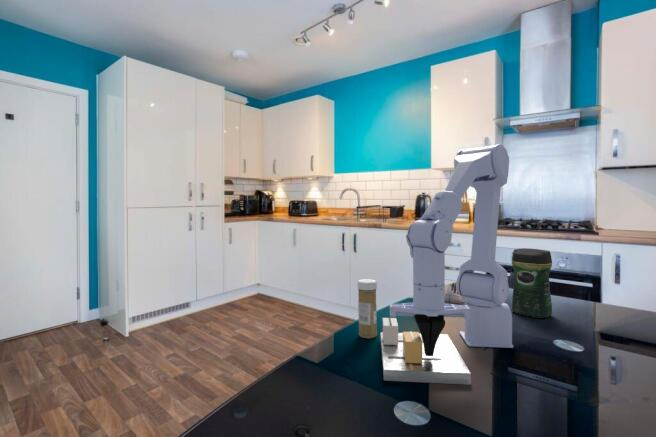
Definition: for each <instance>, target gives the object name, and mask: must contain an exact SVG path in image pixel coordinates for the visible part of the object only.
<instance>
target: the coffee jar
mask: <svg viewBox="0 0 656 437" xmlns="http://www.w3.org/2000/svg"><path fill="white" fill-rule="evenodd" d="M511 266H512V268H513V285H512V286H513V288H512V296H511V312H514V313H515V314H518V313H519V314H518V315H521V314H522V315H521V316H525V315H526V316H525V317H529V316H531V317H530V318H535V319H536V318H537V319H542V318H546V319H547V318H550V317H551V315H552V314H553V305H552V297H551V290H550V289H551V287H550V271H551V269H552V267H553V259H552V253H551V252H550V250H545V249H538V248H530V247H529V248H525V247H524V248H521V247H520V248H516V249H514V250H513V252H512V255H511Z"/></svg>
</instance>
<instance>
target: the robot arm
mask: <svg viewBox="0 0 656 437" xmlns="http://www.w3.org/2000/svg"><path fill="white" fill-rule="evenodd" d="M453 164H454V166H453V167H454V171H453V172H452V173H453V174H452V175H451V177H450V179H449V181H448V183H447V185H446V187H445V189H444V190H440V191H438V192H437V193H435V195H434V196H433V199H432V200H431V202H430V203H429V204H428V206H427V208H426V210H425V211H424V213H423V214H422V216H421V218H420V219H417V220H415V221H413V222H412V223H411V224H410V225H409V227H408V229H407V234H405V238H406V243H407V245H408V247H409V250H410V251H409V255H410V258H412V285H413V286H412V289H413V290H412V298H413V299H412V302H403V303H390V304H389V318H396V317H398V316H399V317H413V318H414V320H415V323H416V325H417V327H418V330H419V333H420V334H421V336H422V340H423V344H424V352H425V354H426V356H433V354H434V349H435V345H436V342H437V340H438V337H439V335H440V334H442V331H443V330H444V328H445V325H446V320H445V318H463V319H464V331H463V330H461V331H459V332H458V333H459V335H460V336H461V338H462V339H463V341H464V342H465V343H466V345H467V346H468V347H475V348H476V347H477V348H480V347H481V348H505V349H506V348H507V349H513V348H514V344H513V315H512V309H511V308H510V306H509V304H508V303H506V301H507V298H508V296H509V292H510V287H509V280H508V271H507V270H506V269H505V268H504V267H503V266H502V265H501V264H500V263H499V262H498V261H496V253H497V252H496V251H497V249H496V248H497V239H498V238H497V237H498V226H499V225H498V224H499V214H500V201H501V200H500V199H501V191H502V190H501V188H502V187H503V186H505V185H506V184H507V183H508V178H509V172H510V171H509V169H510V168H509V167H510V157H509V154H508V150H507V148H506V147H505V146H504V145H503V144H502V143H497V144H495V145H489V146H488V145H487V146H483V147H481V146H480V147H474V148H466V149H463V148H462V149H460V150H458V151H457V153H456V155H455V157H454V159H453ZM507 185H508V184H507ZM470 187H471V188H474V190H475V192H476V195H475V196H476V197H475V204H474V205H475V206H474V217H473V218H474V219H473V232H472V242H471V252H470V253H471V254H470V258H469V259H468V260H467V261H465V262H464V263H462V264H461V265H460V268H459V272H458V273H459V274H458V276H457V278H456V282H455V288H456V291H457V294H458V295H459V297H461V301H462V302H464V305H463V304H462V305H461V304H453V303H446V302H445V300H446V299H445V298H446V296H445V289H446V288H445V286H446V284H445V282H446V279H445V277H446V276H445V275H446V274H445V270H446V269H445V266H446V265H445V264H446V263H445V261H446V260H445V259H446V257H445V256H446V254H445V253H446V251H447V250H448V248H449V247H450V245H451V243H452V236H453V232H454V227H453V226H454V224H455V222H456V220H457V219H458V217H459V214H460V213H461V211H462V209H463V207H464V206H463V205H464V203H463V200H462V198H463V197H464V195H465V194H466V192H467V191H468V189H469V188H470ZM475 271H476V272H475ZM483 272H484V273H483ZM487 273H489V274H487Z"/></svg>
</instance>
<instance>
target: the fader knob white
mask: <svg viewBox="0 0 656 437" xmlns="http://www.w3.org/2000/svg"><path fill="white" fill-rule="evenodd" d="M382 332H383V342H384V344H385V345H398V333H399V324H398V321H397V318H396V317H382Z"/></svg>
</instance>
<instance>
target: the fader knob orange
mask: <svg viewBox="0 0 656 437" xmlns="http://www.w3.org/2000/svg"><path fill="white" fill-rule="evenodd" d="M402 333H403V353H404V357H405V362H406V363H422V340H421V337H420V335H419V333H420V331H402Z"/></svg>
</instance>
